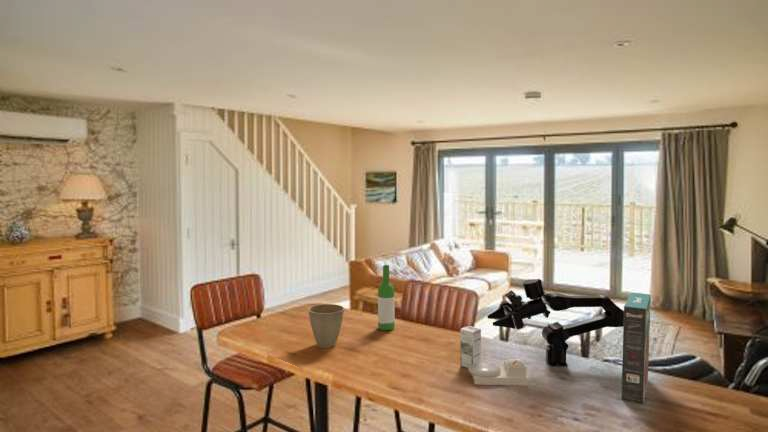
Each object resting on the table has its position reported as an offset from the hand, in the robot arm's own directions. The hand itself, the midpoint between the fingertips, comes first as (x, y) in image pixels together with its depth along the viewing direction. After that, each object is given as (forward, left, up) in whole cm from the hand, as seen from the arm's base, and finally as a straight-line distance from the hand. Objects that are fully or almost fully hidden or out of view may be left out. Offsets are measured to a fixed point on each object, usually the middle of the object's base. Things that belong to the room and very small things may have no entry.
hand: (490, 320), depth 185 cm
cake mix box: (-44, +22, -17) cm, 52 cm away
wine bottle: (+42, -42, -17) cm, 62 cm away
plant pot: (+66, -17, -17) cm, 70 cm away
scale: (-1, +15, -16) cm, 22 cm away
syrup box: (+8, +4, -17) cm, 19 cm away
